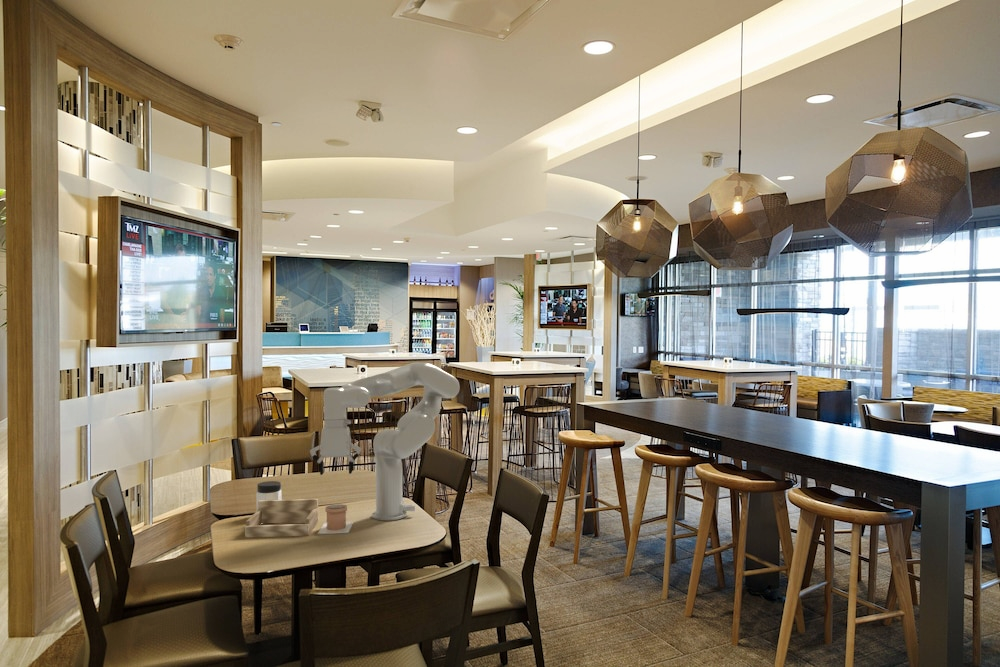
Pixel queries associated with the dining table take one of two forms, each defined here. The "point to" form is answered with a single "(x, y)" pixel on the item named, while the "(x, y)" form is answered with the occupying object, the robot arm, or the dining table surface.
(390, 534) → the dining table surface
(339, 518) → the pot
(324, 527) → the tile
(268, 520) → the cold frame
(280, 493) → the jar
